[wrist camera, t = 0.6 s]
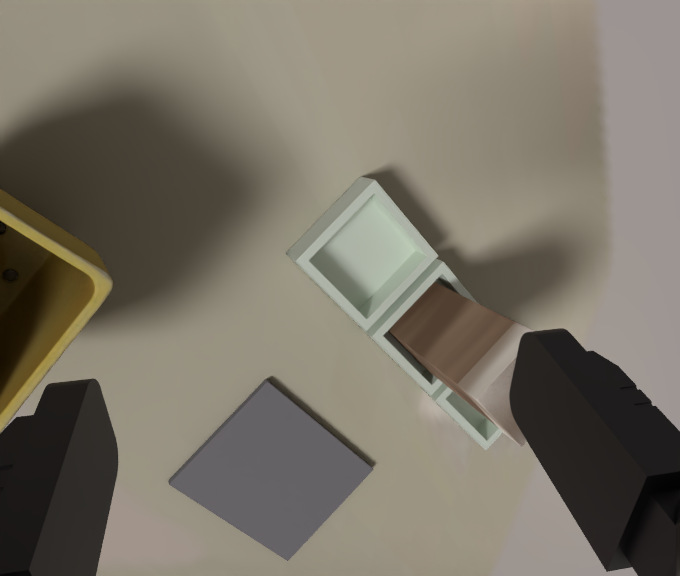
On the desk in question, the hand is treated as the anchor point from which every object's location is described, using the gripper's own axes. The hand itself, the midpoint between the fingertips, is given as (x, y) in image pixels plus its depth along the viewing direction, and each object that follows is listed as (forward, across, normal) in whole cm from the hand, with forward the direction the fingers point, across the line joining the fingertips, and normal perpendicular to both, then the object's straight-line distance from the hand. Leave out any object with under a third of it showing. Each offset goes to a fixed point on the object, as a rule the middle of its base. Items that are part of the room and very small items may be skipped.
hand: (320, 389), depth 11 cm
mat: (+15, +1, +20) cm, 26 cm away
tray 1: (+20, -5, +8) cm, 22 cm away
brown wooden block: (+19, -9, +13) cm, 24 cm away
